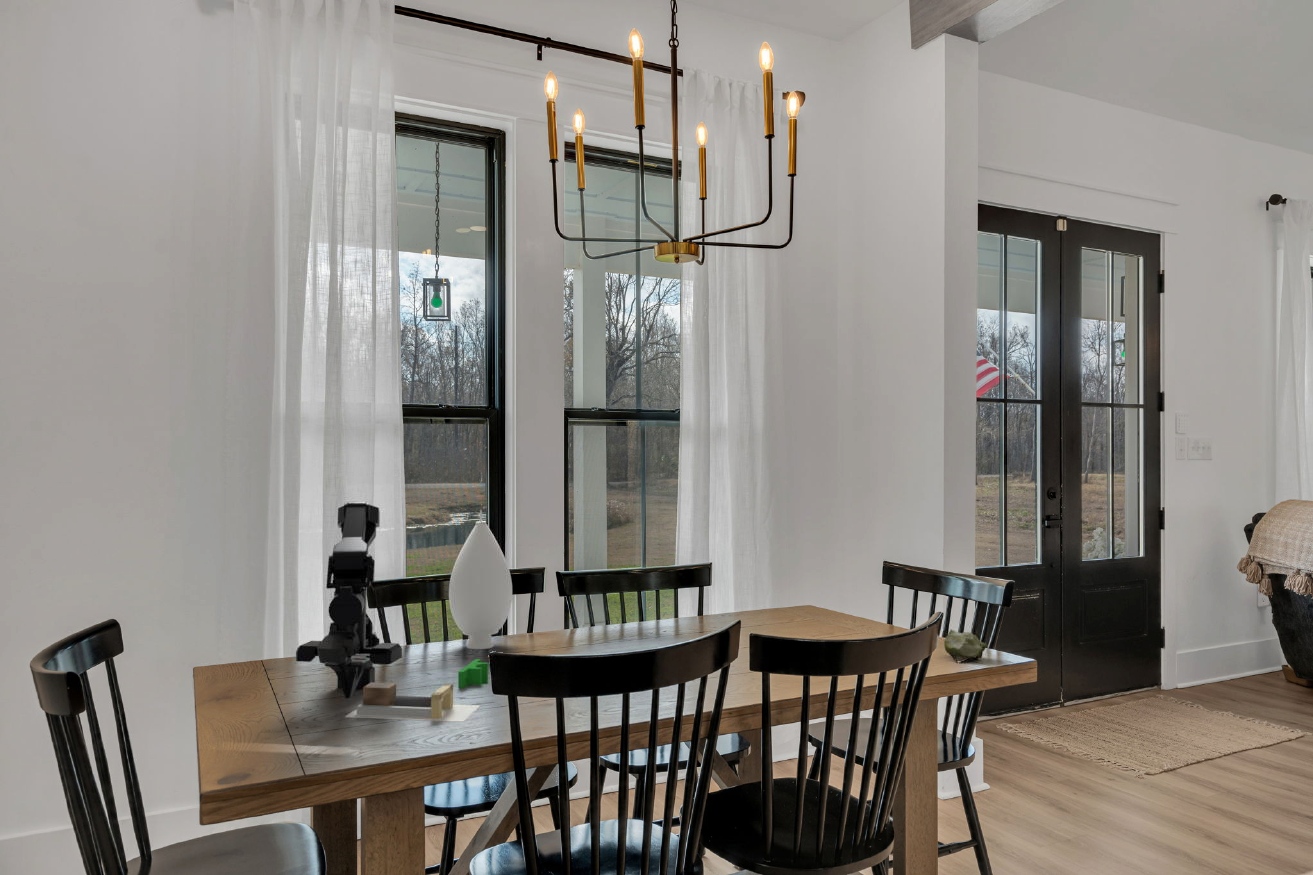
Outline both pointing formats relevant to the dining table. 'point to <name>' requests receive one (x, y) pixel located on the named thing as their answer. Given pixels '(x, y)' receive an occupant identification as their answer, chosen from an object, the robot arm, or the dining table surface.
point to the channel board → (420, 709)
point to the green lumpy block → (963, 645)
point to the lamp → (480, 588)
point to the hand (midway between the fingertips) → (348, 697)
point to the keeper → (379, 694)
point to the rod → (412, 701)
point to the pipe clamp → (473, 674)
